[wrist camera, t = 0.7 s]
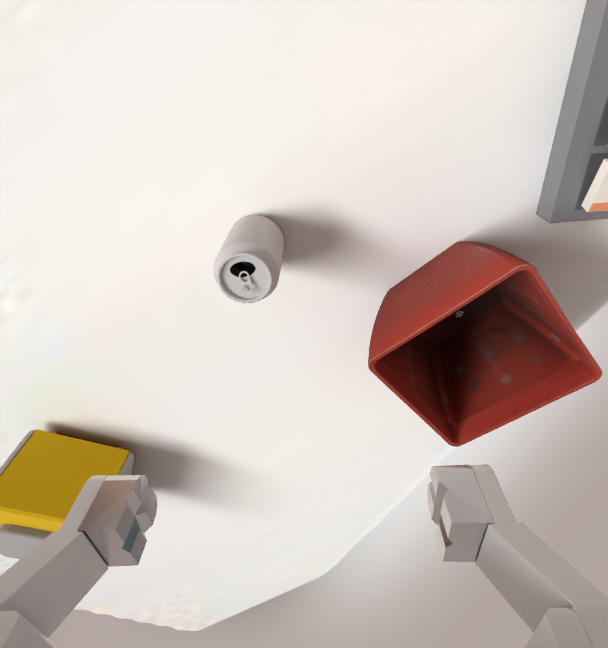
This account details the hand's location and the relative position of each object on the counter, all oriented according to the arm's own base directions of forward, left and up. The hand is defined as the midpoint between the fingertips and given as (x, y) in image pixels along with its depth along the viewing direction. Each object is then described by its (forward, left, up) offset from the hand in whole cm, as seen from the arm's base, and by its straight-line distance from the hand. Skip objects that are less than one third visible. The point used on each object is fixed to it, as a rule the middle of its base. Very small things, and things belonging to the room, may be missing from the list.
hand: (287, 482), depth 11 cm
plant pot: (+20, +18, -44) cm, 52 cm away
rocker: (+4, +33, -38) cm, 51 cm away
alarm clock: (+52, -50, -44) cm, 84 cm away
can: (+9, -8, -44) cm, 45 cm away
